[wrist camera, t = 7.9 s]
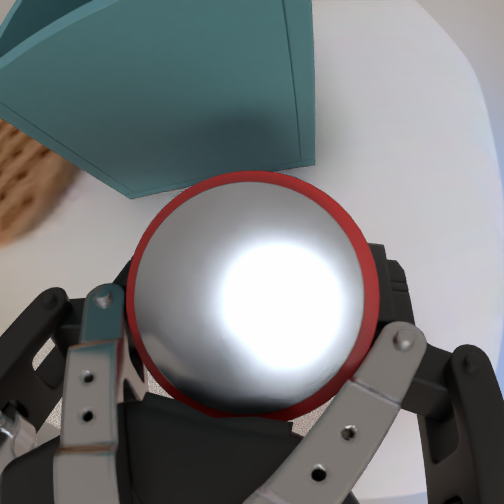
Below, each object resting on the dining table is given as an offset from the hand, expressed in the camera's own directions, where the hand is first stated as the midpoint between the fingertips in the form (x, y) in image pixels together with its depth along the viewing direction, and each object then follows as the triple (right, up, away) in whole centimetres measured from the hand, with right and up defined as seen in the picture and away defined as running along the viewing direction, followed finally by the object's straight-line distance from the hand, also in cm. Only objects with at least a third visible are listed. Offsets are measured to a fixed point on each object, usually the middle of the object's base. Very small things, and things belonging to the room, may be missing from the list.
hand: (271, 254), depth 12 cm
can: (+1, -3, +5) cm, 6 cm away
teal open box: (-3, +11, +8) cm, 14 cm away
